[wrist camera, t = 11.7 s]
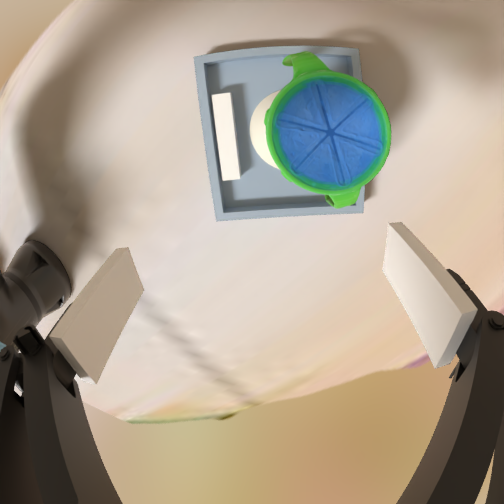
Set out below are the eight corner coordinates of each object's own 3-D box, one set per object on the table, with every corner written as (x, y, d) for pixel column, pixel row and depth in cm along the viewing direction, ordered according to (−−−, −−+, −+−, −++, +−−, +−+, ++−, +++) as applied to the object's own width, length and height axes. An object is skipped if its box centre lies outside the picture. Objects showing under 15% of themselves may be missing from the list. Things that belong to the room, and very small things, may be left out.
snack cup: (363, 183, 31) (397, 214, 22) (280, 196, 32) (284, 233, 23) (342, 59, 23) (375, 39, 15) (251, 70, 25) (244, 51, 16)
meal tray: (219, 213, 35) (216, 221, 33) (199, 60, 25) (193, 56, 23) (357, 206, 33) (363, 213, 31) (352, 52, 23) (358, 48, 21)
